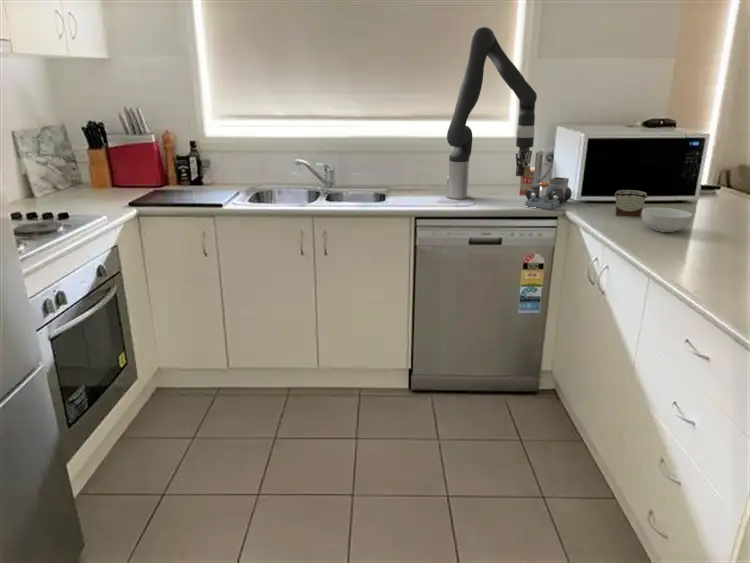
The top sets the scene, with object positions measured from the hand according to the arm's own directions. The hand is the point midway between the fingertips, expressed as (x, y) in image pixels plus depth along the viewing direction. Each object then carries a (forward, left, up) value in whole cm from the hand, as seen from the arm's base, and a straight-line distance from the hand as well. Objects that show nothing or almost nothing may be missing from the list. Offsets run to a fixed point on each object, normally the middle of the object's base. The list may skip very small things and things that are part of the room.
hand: (522, 174), depth 263 cm
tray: (+12, -6, -12) cm, 18 cm away
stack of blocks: (-5, +24, -13) cm, 27 cm away
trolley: (+11, +5, -12) cm, 17 cm away
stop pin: (+12, -6, -12) cm, 18 cm away
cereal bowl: (+64, -21, -13) cm, 69 cm away
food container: (+47, -3, -12) cm, 49 cm away
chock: (0, 0, -1) cm, 1 cm away
